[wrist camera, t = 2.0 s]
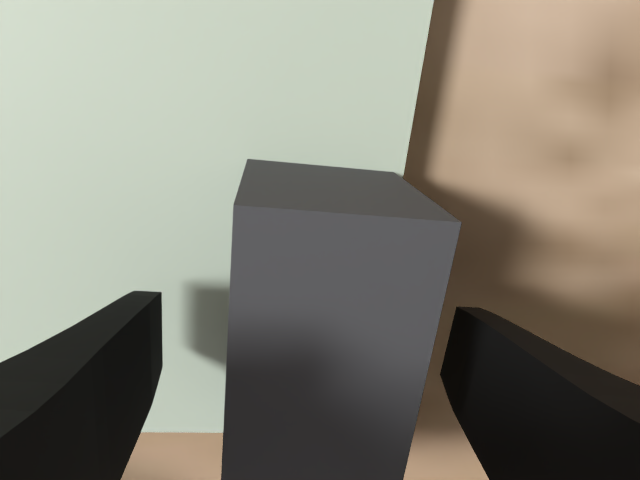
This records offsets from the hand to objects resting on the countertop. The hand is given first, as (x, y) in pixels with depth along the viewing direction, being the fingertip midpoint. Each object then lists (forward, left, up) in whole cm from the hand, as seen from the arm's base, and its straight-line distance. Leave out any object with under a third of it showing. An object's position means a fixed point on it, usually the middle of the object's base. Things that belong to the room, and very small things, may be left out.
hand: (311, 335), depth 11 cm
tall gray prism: (0, 0, -1) cm, 1 cm away
